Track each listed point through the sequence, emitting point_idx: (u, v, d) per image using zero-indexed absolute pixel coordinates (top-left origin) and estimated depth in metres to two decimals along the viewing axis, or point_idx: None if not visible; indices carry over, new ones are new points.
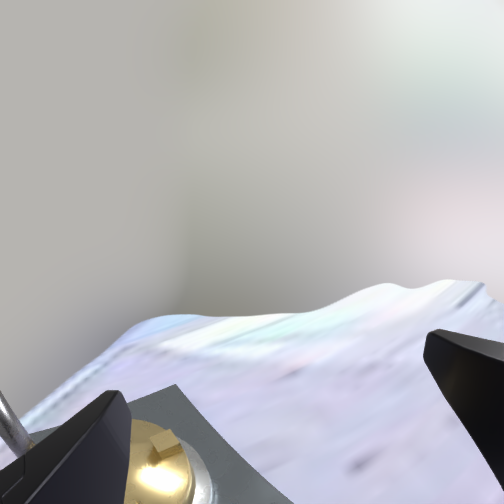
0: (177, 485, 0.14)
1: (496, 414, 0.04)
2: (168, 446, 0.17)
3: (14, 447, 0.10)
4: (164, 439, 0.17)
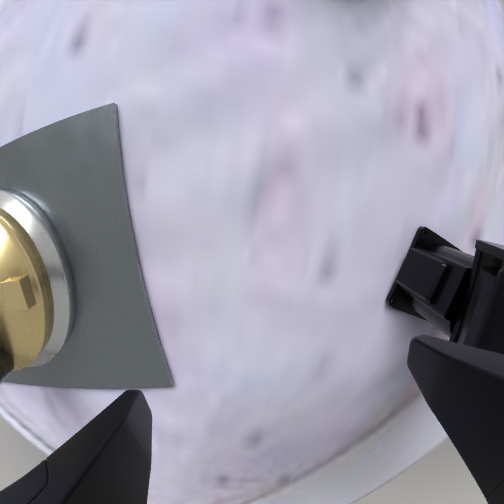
0: None
1: (480, 425, 0.04)
2: None
3: None
4: None
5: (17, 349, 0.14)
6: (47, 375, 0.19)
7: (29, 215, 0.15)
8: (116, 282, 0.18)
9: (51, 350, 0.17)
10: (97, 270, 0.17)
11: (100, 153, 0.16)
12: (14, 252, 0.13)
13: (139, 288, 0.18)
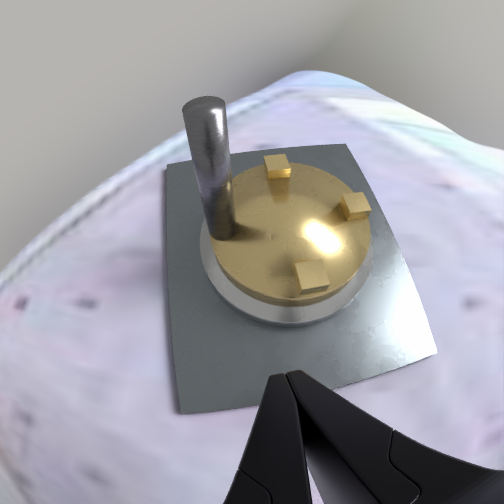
0: (358, 252, 0.20)
1: (334, 494, 0.04)
2: (360, 209, 0.20)
3: (212, 185, 0.16)
4: (357, 201, 0.21)
5: (240, 253, 0.20)
6: (182, 267, 0.23)
7: (359, 287, 0.21)
8: None
9: (226, 288, 0.21)
10: (310, 353, 0.20)
11: (403, 350, 0.20)
12: (344, 277, 0.19)
13: None
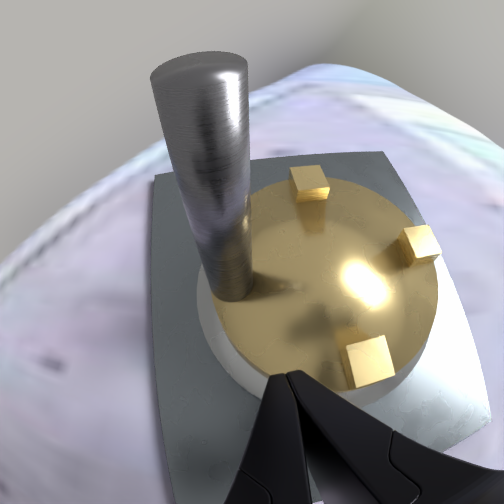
0: (425, 316, 0.12)
1: (334, 494, 0.04)
2: (428, 252, 0.13)
3: (216, 231, 0.08)
4: (423, 239, 0.14)
5: (259, 324, 0.13)
6: (173, 326, 0.16)
7: (418, 356, 0.13)
8: None
9: (236, 368, 0.14)
10: None
11: (458, 425, 0.12)
12: (408, 356, 0.12)
13: None
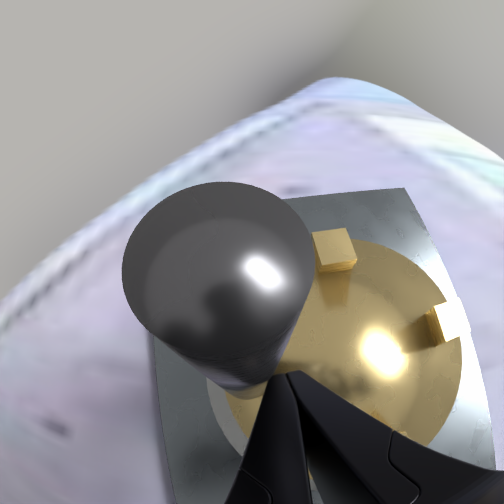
0: (446, 398, 0.10)
1: (334, 494, 0.04)
2: (457, 332, 0.11)
3: (239, 391, 0.06)
4: (453, 317, 0.11)
5: None
6: (181, 402, 0.14)
7: None
8: None
9: None
10: None
11: None
12: (426, 441, 0.09)
13: None
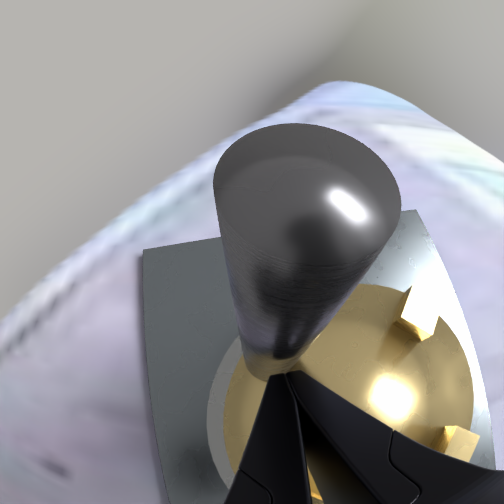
0: None
1: (334, 494, 0.04)
2: None
3: (250, 348, 0.06)
4: (462, 448, 0.08)
5: None
6: (182, 452, 0.12)
7: None
8: None
9: None
10: None
11: None
12: None
13: None
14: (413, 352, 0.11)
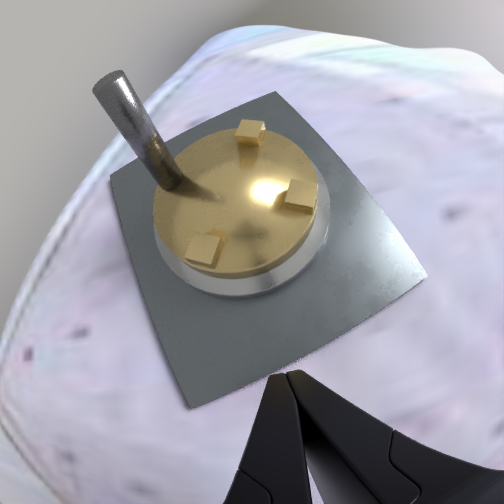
0: (272, 247, 0.18)
1: (334, 494, 0.04)
2: (299, 202, 0.18)
3: (130, 144, 0.16)
4: (302, 191, 0.18)
5: (169, 206, 0.21)
6: (149, 269, 0.23)
7: (323, 233, 0.21)
8: (288, 335, 0.20)
9: (191, 277, 0.21)
10: (293, 314, 0.20)
11: (390, 283, 0.20)
12: (240, 265, 0.18)
13: (290, 359, 0.19)
14: (254, 152, 0.21)
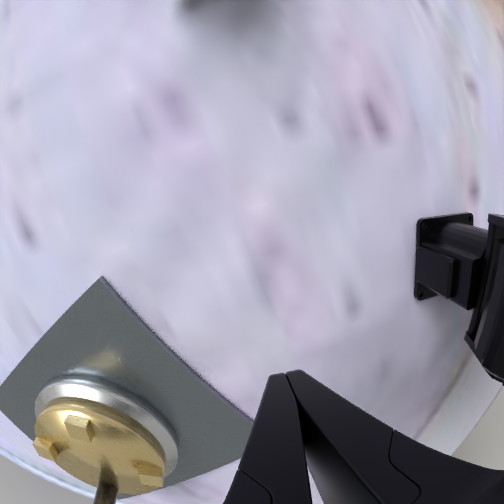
0: (128, 442, 0.17)
1: (334, 494, 0.04)
2: (86, 434, 0.15)
3: None
4: (76, 432, 0.15)
5: (128, 487, 0.18)
6: (176, 475, 0.23)
7: (96, 392, 0.18)
8: (193, 400, 0.20)
9: (171, 463, 0.20)
10: (173, 399, 0.20)
11: (118, 322, 0.18)
12: (151, 457, 0.17)
13: (212, 396, 0.20)
14: (59, 446, 0.17)
